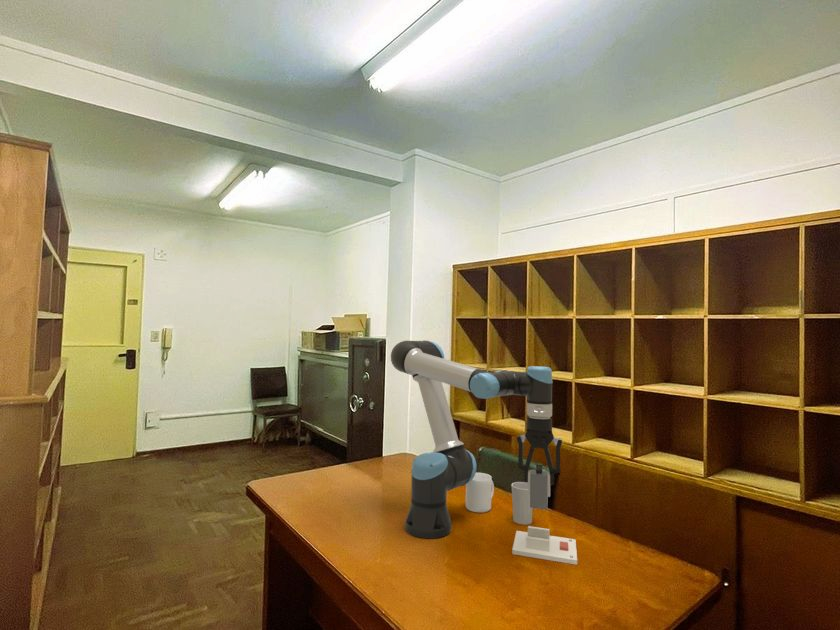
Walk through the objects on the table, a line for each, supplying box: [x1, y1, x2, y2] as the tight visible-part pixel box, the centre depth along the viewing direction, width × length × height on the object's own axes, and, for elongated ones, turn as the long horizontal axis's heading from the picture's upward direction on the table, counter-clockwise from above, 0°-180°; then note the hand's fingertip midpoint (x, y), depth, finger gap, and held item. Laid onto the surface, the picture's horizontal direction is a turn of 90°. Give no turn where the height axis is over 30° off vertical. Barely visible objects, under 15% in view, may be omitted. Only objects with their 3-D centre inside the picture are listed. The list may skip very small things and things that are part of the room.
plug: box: [530, 463, 549, 511], centre depth 136 cm, size 5×5×12 cm
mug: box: [465, 472, 495, 514], centre depth 167 cm, size 10×12×12 cm
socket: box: [511, 525, 578, 566], centre depth 135 cm, size 18×14×4 cm
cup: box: [510, 481, 534, 525], centre depth 156 cm, size 8×8×12 cm
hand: (539, 493), depth 136 cm, fingers closed on plug, 5 cm apart
